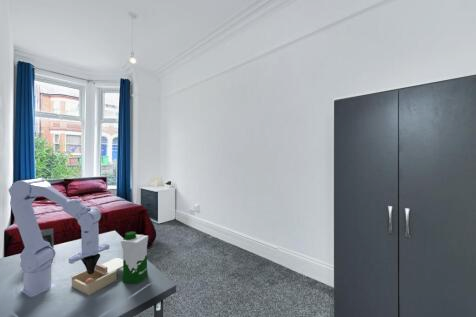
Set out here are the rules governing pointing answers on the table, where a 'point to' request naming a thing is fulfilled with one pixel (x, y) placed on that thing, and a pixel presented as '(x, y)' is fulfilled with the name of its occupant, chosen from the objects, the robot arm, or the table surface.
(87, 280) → the ball
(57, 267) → the table surface
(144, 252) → the milk carton
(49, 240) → the tampon box
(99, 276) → the box
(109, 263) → the lid
